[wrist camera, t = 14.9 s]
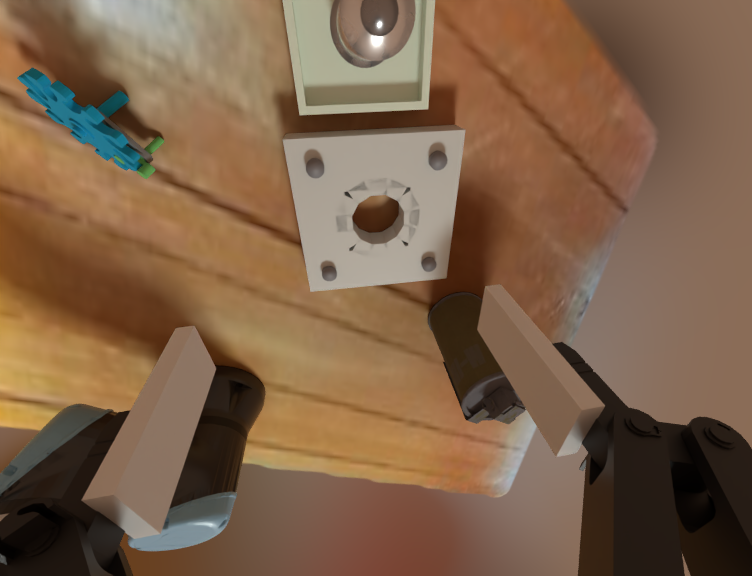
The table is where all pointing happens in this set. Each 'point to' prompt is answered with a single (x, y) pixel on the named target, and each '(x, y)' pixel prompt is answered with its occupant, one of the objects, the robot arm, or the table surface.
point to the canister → (472, 361)
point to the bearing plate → (369, 178)
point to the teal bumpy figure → (91, 122)
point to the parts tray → (350, 83)
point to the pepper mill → (371, 29)
